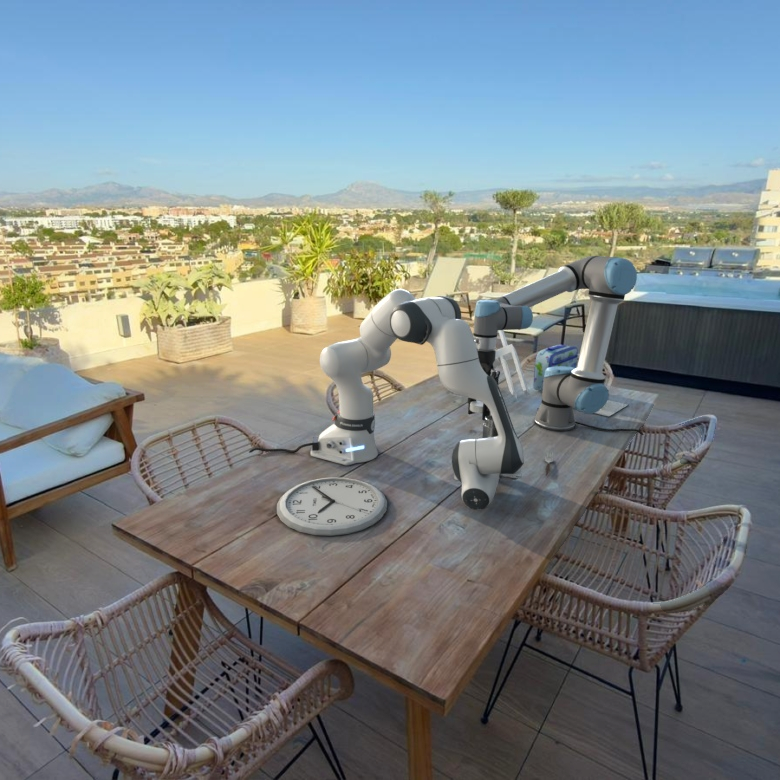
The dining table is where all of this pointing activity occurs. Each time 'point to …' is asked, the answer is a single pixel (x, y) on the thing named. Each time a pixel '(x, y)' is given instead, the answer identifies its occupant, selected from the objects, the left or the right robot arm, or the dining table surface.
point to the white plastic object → (502, 357)
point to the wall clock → (331, 506)
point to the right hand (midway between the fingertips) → (478, 416)
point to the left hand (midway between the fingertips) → (490, 454)
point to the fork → (548, 462)
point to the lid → (476, 406)
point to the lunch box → (553, 361)
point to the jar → (489, 428)
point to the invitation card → (611, 408)
